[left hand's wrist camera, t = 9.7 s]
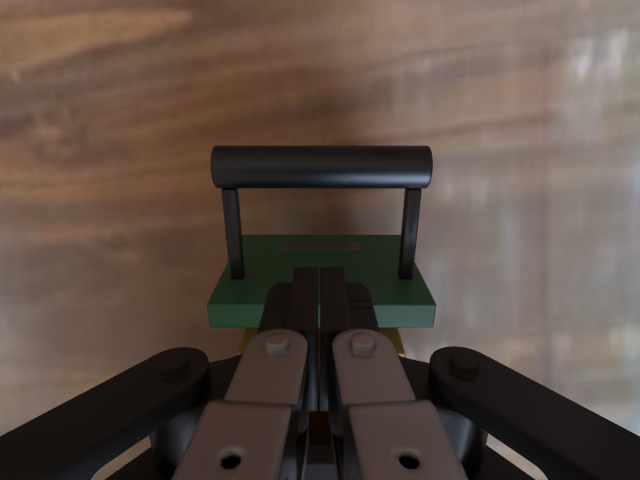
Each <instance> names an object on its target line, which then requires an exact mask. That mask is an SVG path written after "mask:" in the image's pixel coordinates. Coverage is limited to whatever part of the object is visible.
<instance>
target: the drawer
mask: <svg viewBox="0 0 640 480" xmlns="http://www.w3.org/2000/svg"><path fill="white" fill-rule="evenodd" d="M432 169H433V159H432V152H431V149H430V147H428V146H215V147H214V148H213V150H212V154H211V174H212V179H213V182H214V185H215V187H217V188H223V189H222V200H223V210H224V220H225V230H226V240H227V250H228V260H229V261H228V263H227V265H226V267H225V269H224V271H223V273H222V275H221V277H220V279H219V281H218V283H217V285H216V287H215V289H214V291H213V293H212V295H211V297H210V299H209V301H208V303H207V308H208V316H209V324H210V327H245V331H244V334H243V337H242V341H241V344H240V347H239V351H238V355H239V354H241V353H243V352H244V350H245V348H246V345H247V343H248V342H249V340H250V339H251V338H252V337H254V336H255V335H257V332H258V328H259V324H260V320H261V317H262V313H263V309H264V305H265V302H266V298H267V294H268V290H269V289H271V288H272V287H273V286H274V285H275V284H276V283H277V282H293V275H294V269H295V267H318V394H317V411H309V443H308V445H332V443H331V429H330V426H329V419H328V411H320V267H343V269H344V276H345V282H361V283H362V284H363V285H364V286H365V287H366V288H367V289H368V290H369V291H370V295H371V299H372V303H373V307H374V310H375V314H376V318H377V322H378V326H379V330H380V333H382V334H383V335H385V336H386V337H388V338H389V339H390V340H391V342H392V343H393V345H394V348H395V350H396V353H397V354H398V355H400V356H402V357H405V351H404V348H403V345H402V342H401V338H400V335H399V332H398V329H397V327H433V324H434V317H435V309H436V303H435V301H434V299H433V297H432V295H431V293H430V291H429V290H428V288H427V286H426V284H425V282H424V280H423V278H422V276H421V274H420V272H419V270H418V268H417V266H416V264H415V262H414V259H415V249H416V239H417V230H418V220H419V210H420V201H421V191H422V190H421V189H420V188H427V187H428V185H429V183H430V180H431V176H432ZM238 188H405V196H404V208H403V219H402V231H401V235H242V231H241V219H240V207H239V195H238Z"/></svg>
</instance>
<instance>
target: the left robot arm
mask: <svg viewBox="0 0 640 480" xmlns="http://www.w3.org/2000/svg"><path fill="white" fill-rule="evenodd" d="M317 394H318V267H295V269H294V275H293V282H277V283H276V284H275V285H274V286H273V287H272V288H271V289H269V290H268V294H267V298H266V302H265V305H264V309H263V313H262V317H261V320H260V324H259V328H258V332H257V335H255V336H254V337H252V338H251V339H250V340H249V342H248V343H247V345H246V348H245V350H244V352H243V353H241V354H239V355H237V356H235V357H232V358H229V359H225V360H220V361H215V362H211V363H209V361H208V357H207V356H206V354H205V353H204V352H202V351H200V350H198V349H195V348H189V347H181V348H173V349H169V350H166V351H163V352H160V353H158V354H156V355H154V356H152V357H150V358H149V359H147V360H145V361H143V362H141V363H139V364H137V365H135V366H133V367H131V368H130V369H128V370H126V371H124V372H122V373H120V374H118V375H116V376H114V377H112V378H111V379H109V380H107V381H105V382H103V383H101V384H99V385H97V386H95V387H93V388H92V389H90V390H88V391H86V392H84V393H82V394H80V395H78V396H76V397H74V398H73V399H71V400H69V401H67V402H65V403H63V404H61V405H59V406H57V407H55V408H54V409H52V410H50V411H48V412H46V413H44V414H42V415H40V416H38V417H36V418H35V419H33V420H31V421H29V422H27V423H25V424H23V425H21V426H19V427H17V428H16V429H14V430H12V431H10V432H8V433H6V434H4V435H2V436H0V480H90V479H91V478H92V477H93V475H94V474H95V473H96V472H97V471H98V470H99V469H100V468H101V467H103V466H104V465H105V464H107V463H108V462H110V461H111V460H113V459H114V458H116V457H117V456H119V455H120V454H122V453H123V452H125V451H126V450H127V449H129V448H130V447H132V446H133V445H135V444H136V443H138V442H139V441H141V440H142V439H144V438H145V437H147V436H148V435H149V437H150V442H151V447H150V448H149V449H147V450H146V451H145V452H143V453H142V454H140V455H139V456H138V457H136V458H135V459H133V460H132V461H130V462H129V463H128V464H126V465H125V466H123V467H122V468H121V469H119V470H118V471H116V472H115V473H113V474H112V475H111V476H109V477H108V478H106V479H105V480H304V475H305V467H306V459H307V451H308V443H309V411H317ZM320 411H328V419H329V426H330V429H331V443H332V451H333V459H334V467H335V475H336V480H535V479H534V478H532V477H531V476H529V475H528V474H526V473H525V472H524V471H522V470H521V469H519V468H518V467H517V466H515V465H514V464H512V463H511V462H510V461H508V460H507V459H505V458H504V457H502V456H501V455H500V454H498V453H497V452H495V451H494V450H493V449H491V448H490V447H488V446H487V445H486V442H487V437H488V433H489V434H490V435H492V436H493V437H495V438H496V439H498V440H499V441H501V442H502V443H504V444H505V445H507V446H508V447H510V448H511V449H513V450H514V451H515V452H517V453H518V454H520V455H521V456H523V457H524V458H526V459H527V460H529V461H530V462H532V463H533V464H534V465H536V466H537V467H538V468H539V469H540V470H541V471H542V472H543V473H544V474H545V476H546V477H547V478H548V480H640V436H638V435H636V434H634V433H632V432H630V431H628V430H626V429H624V428H623V427H621V426H619V425H617V424H615V423H613V422H611V421H609V420H607V419H605V418H604V417H602V416H600V415H598V414H596V413H594V412H592V411H590V410H588V409H586V408H585V407H583V406H581V405H579V404H577V403H575V402H573V401H571V400H569V399H567V398H566V397H564V396H562V395H560V394H558V393H556V392H554V391H552V390H550V389H548V388H547V387H545V386H543V385H541V384H539V383H537V382H535V381H533V380H531V379H529V378H528V377H526V376H524V375H522V374H520V373H518V372H516V371H514V370H512V369H510V368H509V367H507V366H505V365H503V364H501V363H499V362H497V361H495V360H493V359H491V358H490V357H488V356H486V355H484V354H482V353H480V352H478V351H475V350H472V349H469V348H464V347H455V346H454V347H444V348H441V349H438V350H436V351H435V352H434V353H433V354H432V355H431V358H430V363H426V362H421V361H416V360H412V359H408V358H405V357H402V356H400V355H398V354H397V353H396V350H395V348H394V345H393V343H392V342H391V340H390V339H389V338H388V337H386V336H385V335H383V334H382V333H380V330H379V326H378V322H377V318H376V314H375V310H374V307H373V303H372V299H371V295H370V291H369V290H368V289H367V288H366V287H365V286H364V285H363V284H362V283H361V282H345V276H344V269H343V267H320Z"/></svg>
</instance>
